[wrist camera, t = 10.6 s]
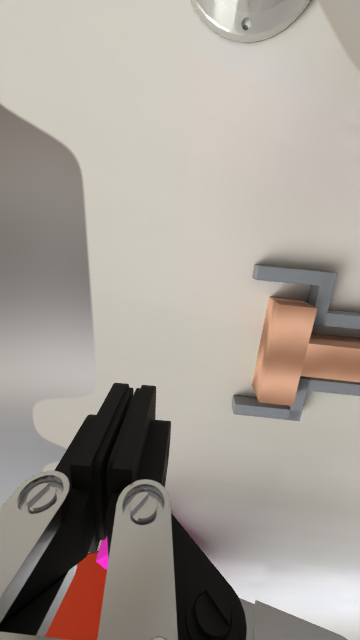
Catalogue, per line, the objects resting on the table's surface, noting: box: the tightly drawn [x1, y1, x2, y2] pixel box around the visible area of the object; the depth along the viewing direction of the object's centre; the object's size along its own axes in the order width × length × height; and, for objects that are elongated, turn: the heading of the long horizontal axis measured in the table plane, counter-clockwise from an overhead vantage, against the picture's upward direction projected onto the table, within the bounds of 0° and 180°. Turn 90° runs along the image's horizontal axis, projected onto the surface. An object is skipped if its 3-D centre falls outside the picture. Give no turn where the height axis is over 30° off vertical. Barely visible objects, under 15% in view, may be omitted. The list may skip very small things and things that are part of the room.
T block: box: [252, 297, 360, 406], centre depth 31 cm, size 12×12×4 cm
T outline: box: [232, 265, 360, 421], centre depth 32 cm, size 19×16×2 cm
